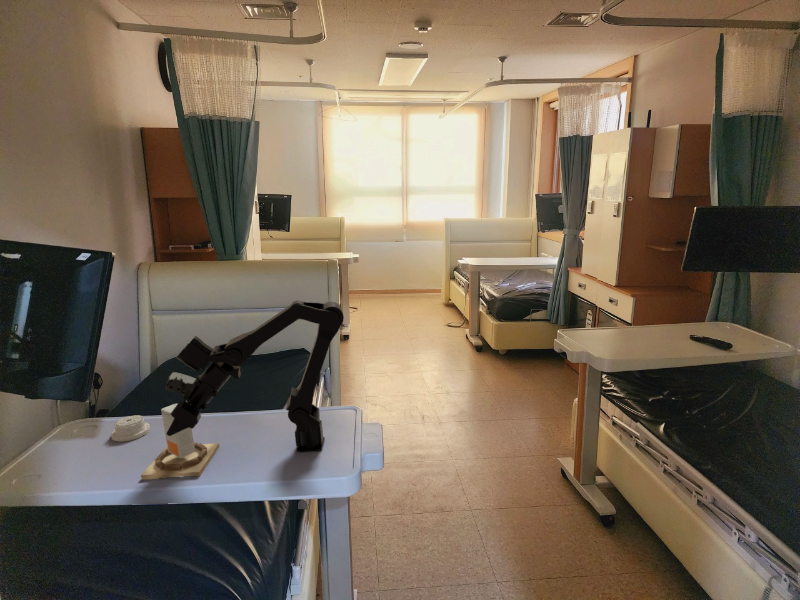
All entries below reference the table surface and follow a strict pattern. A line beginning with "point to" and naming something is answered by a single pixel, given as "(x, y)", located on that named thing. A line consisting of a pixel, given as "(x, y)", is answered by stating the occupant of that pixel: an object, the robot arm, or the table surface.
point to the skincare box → (177, 436)
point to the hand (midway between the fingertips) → (172, 428)
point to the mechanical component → (130, 428)
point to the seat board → (181, 463)
